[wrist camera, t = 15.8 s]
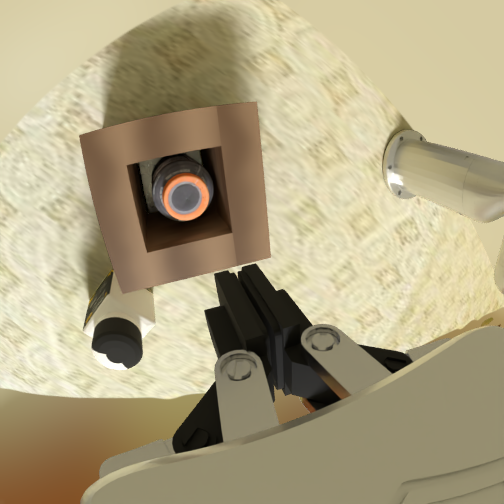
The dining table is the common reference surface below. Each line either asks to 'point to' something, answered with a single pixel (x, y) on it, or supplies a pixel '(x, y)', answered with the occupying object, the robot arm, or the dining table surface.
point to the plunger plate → (146, 175)
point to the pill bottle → (181, 187)
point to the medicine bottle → (118, 323)
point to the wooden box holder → (170, 231)
